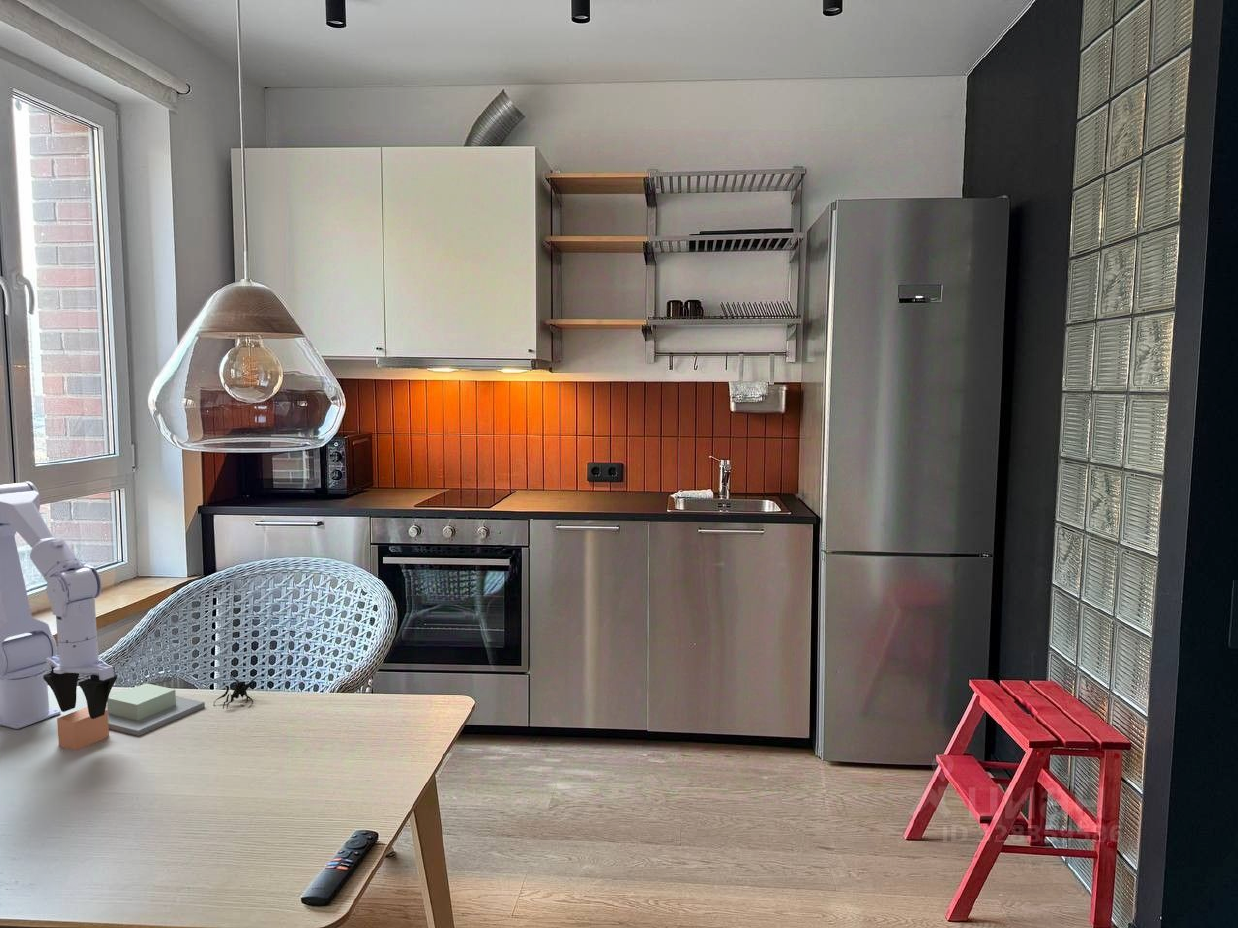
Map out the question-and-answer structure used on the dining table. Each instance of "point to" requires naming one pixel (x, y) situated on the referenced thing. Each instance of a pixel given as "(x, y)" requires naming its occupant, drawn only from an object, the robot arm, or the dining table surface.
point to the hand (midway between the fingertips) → (82, 713)
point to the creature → (238, 691)
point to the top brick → (81, 729)
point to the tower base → (155, 718)
